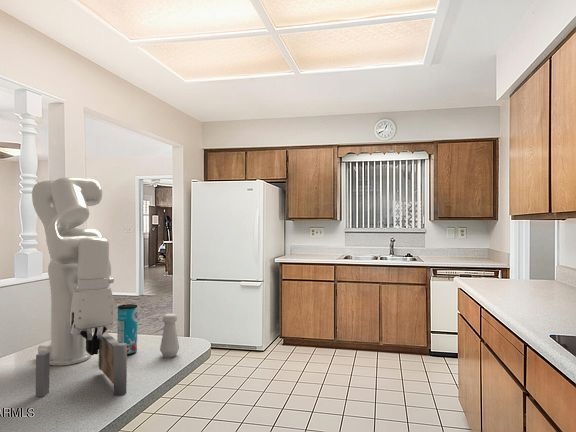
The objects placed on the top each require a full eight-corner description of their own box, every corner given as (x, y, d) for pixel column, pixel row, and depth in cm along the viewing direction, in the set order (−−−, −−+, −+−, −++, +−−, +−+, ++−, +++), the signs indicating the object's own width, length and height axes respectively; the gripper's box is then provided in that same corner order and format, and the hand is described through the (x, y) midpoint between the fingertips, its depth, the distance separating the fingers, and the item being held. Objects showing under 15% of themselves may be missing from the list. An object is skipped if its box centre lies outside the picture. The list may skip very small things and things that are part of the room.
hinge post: (111, 395, 102) (112, 346, 102) (115, 390, 105) (116, 342, 105) (124, 395, 102) (124, 346, 102) (128, 390, 105) (128, 342, 105)
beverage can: (133, 356, 131) (134, 308, 131) (114, 356, 131) (114, 308, 131) (139, 350, 137) (139, 304, 137) (120, 350, 136) (121, 304, 137)
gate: (121, 383, 105) (122, 345, 106) (113, 385, 104) (113, 346, 104) (106, 366, 117) (106, 331, 117) (98, 368, 116) (98, 333, 116)
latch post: (35, 396, 101) (36, 355, 101) (40, 392, 103) (41, 352, 103) (44, 396, 101) (44, 355, 101) (49, 392, 103) (49, 351, 103)
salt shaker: (181, 353, 134) (182, 312, 134) (175, 359, 128) (175, 316, 128) (164, 352, 135) (164, 312, 135) (156, 358, 129) (157, 316, 129)
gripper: (115, 280, 119) (114, 344, 119) (57, 285, 108) (57, 356, 108) (127, 282, 114) (126, 350, 113) (68, 289, 103) (67, 364, 103)
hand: (92, 353), depth 111 cm, fingers closed
